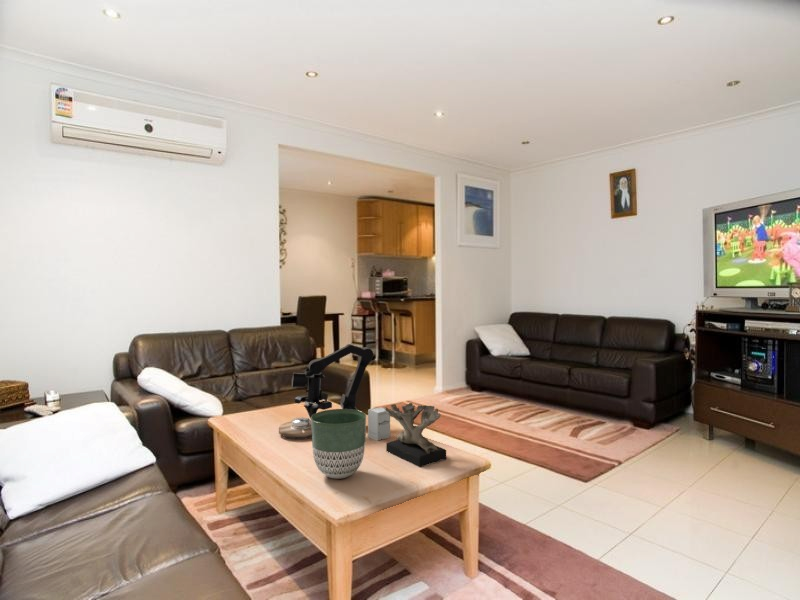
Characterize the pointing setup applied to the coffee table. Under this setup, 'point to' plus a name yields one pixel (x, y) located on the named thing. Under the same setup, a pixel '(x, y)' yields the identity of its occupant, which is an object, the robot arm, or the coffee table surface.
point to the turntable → (294, 430)
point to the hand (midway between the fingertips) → (312, 420)
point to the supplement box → (378, 424)
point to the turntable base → (298, 437)
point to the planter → (338, 441)
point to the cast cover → (300, 423)
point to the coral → (415, 436)
